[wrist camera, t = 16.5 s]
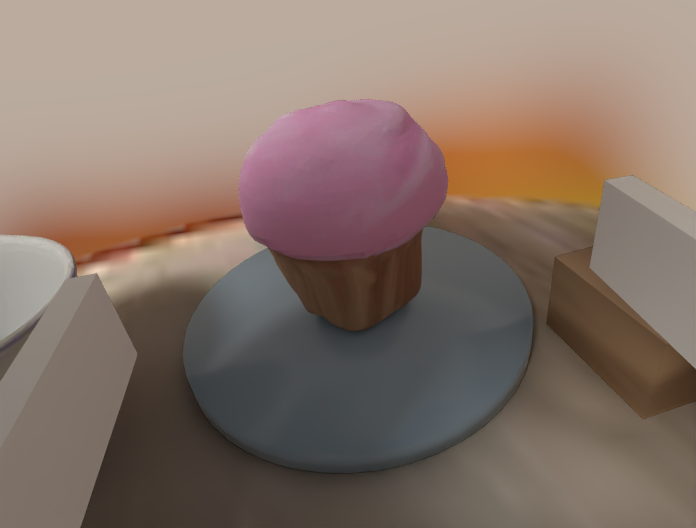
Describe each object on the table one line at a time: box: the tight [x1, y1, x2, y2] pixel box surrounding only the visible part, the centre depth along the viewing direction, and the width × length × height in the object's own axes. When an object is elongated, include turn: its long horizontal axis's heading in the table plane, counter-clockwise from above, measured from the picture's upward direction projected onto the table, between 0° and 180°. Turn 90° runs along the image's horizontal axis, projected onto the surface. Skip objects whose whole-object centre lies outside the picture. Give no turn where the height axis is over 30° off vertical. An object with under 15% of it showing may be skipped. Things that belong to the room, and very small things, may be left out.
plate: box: [183, 226, 534, 473], centre depth 25 cm, size 17×17×1 cm
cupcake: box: [239, 99, 448, 331], centre depth 21 cm, size 9×9×10 cm
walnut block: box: [547, 246, 696, 419], centre depth 20 cm, size 6×6×4 cm
